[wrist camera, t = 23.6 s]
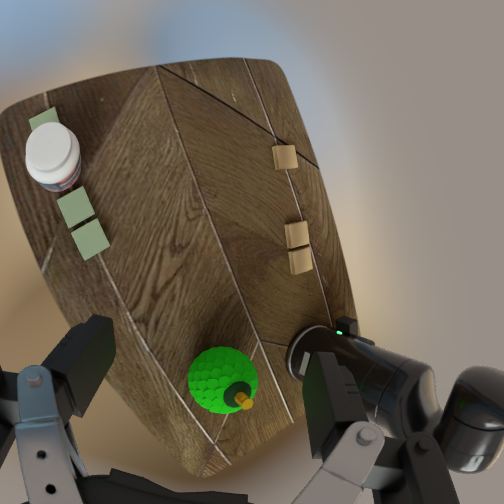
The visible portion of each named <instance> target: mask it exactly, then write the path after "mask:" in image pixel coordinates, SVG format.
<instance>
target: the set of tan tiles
mask: <svg viewBox="0 0 504 504" xmlns="http://www.w3.org/2000/svg"><path fill="white" fill-rule="evenodd" d="M272 152H273V158H274V163H275V169H276V170H282V169H293V168H298V163H297V157H296V152H295V146H294V145H279V146H273V147H272ZM284 227H285V234H286V240H287V247H288V248H295V247H299V246H302V245H306V244H309V235H308V228H307V221H299V222H294V223H290V224H286V225H284ZM288 254H289V261H290V268H291V274H294V275H297V274H300V273H302V272H305V271H308V270H311V269H313V268H312V259H311V251H310V247H303V248H299V249H296V250H292V251H289V252H288Z"/></svg>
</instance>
